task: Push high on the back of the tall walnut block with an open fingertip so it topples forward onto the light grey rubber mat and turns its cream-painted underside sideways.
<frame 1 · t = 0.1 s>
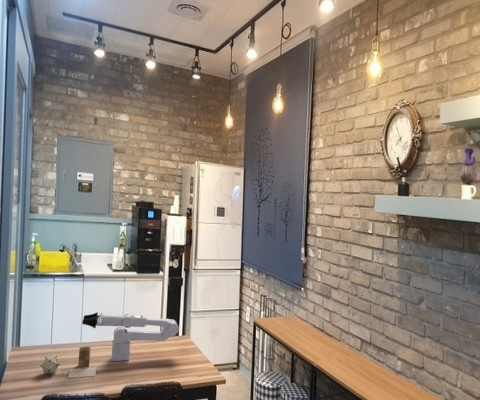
hand: (83, 319, 208), 22 cm above the table, tool horizontal, fingers open, 7 cm apart
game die: (49, 374, 191), on the table
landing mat: (82, 373, 193), on the table
walnut block: (83, 366, 201), on the table
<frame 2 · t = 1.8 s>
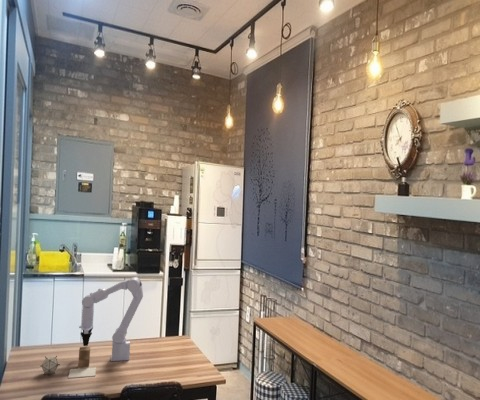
hand: (86, 343, 211), 8 cm above the table, tool pointing down, fingers open, 7 cm apart
nothing on the table moved.
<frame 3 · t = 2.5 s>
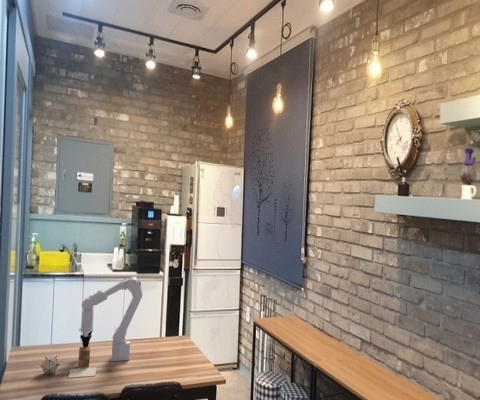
hand: (86, 346, 211), 7 cm above the table, tool pointing down, fingers open, 7 cm apart
nothing on the table moved.
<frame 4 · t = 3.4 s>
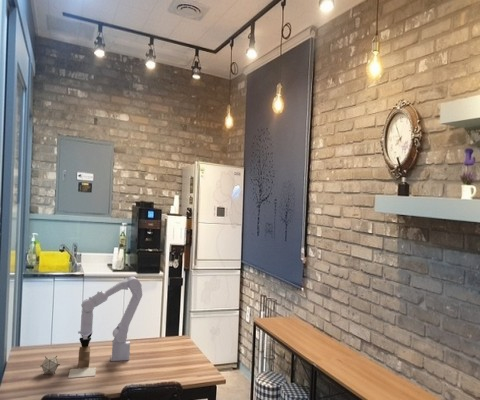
hand: (85, 348, 206), 7 cm above the table, tool pointing down, fingers open, 7 cm apart
walnut block: (83, 365, 201), on the table, tilted 11°, touching gripper
everything else where it was.
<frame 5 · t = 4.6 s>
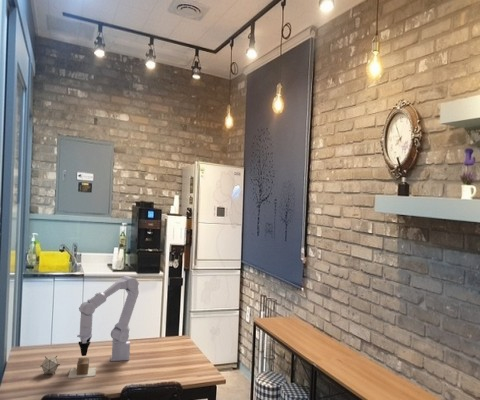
hand: (84, 353, 201), 7 cm above the table, tool pointing down, fingers open, 7 cm apart
walnut block: (83, 362, 199), point 3 cm above the table, tilted 90°, touching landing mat
everything else where it was.
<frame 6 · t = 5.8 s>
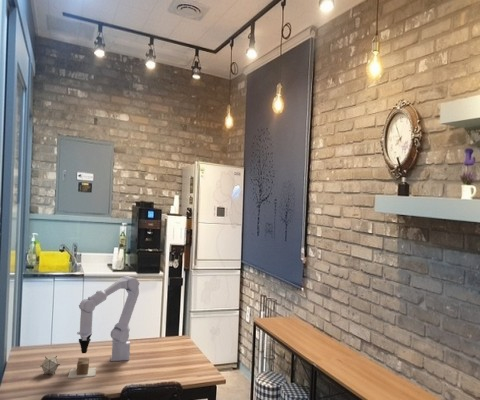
hand: (84, 350, 200), 8 cm above the table, tool pointing down, fingers open, 7 cm apart
nothing on the table moved.
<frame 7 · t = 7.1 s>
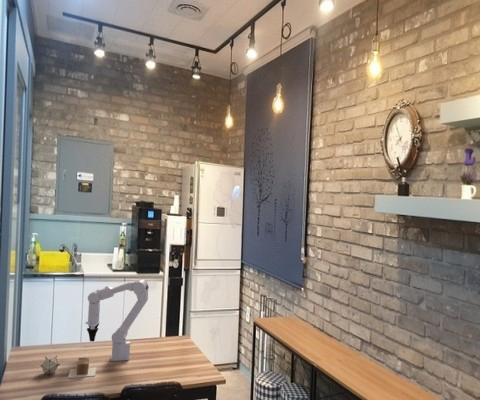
hand: (92, 338, 213), 10 cm above the table, tool pointing down, fingers open, 7 cm apart
nothing on the table moved.
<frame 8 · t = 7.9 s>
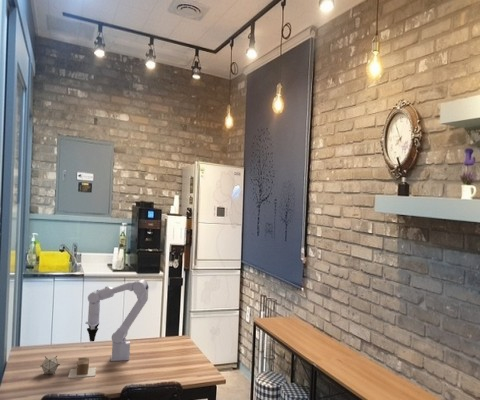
hand: (92, 338, 213), 10 cm above the table, tool pointing down, fingers open, 7 cm apart
nothing on the table moved.
at the end: walnut block tilted 90°; walnut block inside the target area (1.1 cm from its centre), point 2.9 cm above the table; walnut block touching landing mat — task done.
